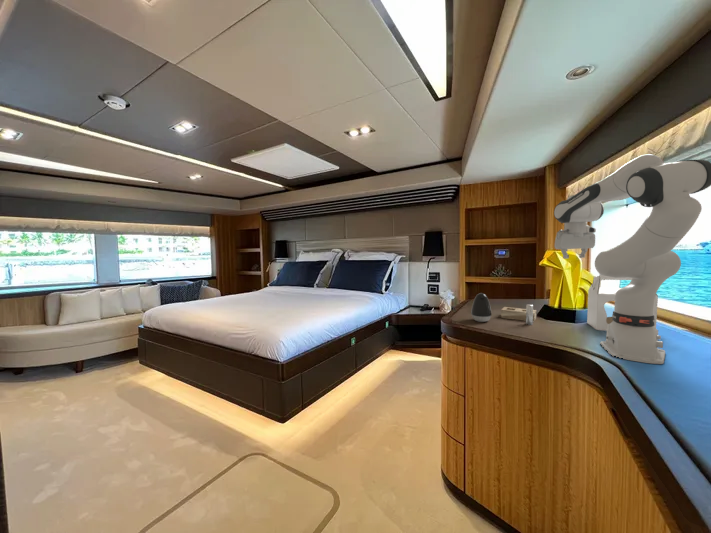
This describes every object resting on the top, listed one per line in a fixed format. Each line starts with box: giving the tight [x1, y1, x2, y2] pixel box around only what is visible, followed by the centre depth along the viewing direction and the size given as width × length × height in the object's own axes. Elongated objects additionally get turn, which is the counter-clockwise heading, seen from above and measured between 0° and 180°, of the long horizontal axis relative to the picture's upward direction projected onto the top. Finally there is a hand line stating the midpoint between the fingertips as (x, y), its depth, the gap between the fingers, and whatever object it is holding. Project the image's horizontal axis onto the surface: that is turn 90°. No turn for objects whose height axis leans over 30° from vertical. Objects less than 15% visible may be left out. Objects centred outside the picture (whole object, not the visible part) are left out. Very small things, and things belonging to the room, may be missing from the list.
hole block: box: [500, 306, 537, 323], centre depth 167 cm, size 9×16×4 cm, turn 53°
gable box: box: [586, 274, 659, 332], centre depth 144 cm, size 22×13×28 cm, turn 68°
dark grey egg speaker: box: [470, 292, 493, 323], centre depth 163 cm, size 10×10×15 cm
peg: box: [525, 304, 534, 326], centre depth 155 cm, size 3×3×10 cm
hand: (574, 258), depth 147 cm, fingers open, 8 cm apart
